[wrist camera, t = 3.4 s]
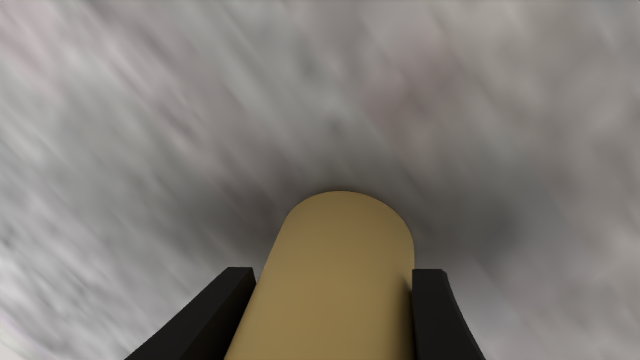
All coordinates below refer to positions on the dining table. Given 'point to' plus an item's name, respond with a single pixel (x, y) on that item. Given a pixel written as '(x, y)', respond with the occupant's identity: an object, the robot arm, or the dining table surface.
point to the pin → (333, 286)
